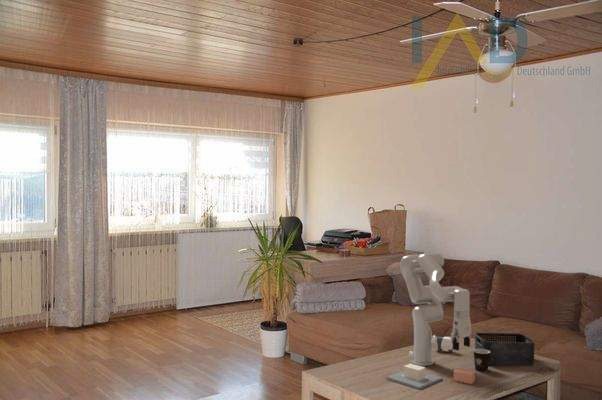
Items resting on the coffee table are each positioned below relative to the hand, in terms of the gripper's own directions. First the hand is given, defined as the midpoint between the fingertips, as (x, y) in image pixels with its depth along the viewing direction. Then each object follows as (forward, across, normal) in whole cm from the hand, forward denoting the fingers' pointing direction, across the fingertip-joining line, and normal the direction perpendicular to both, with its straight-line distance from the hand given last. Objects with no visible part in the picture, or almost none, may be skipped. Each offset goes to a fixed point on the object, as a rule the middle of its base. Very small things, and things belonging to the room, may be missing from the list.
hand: (461, 347), depth 288 cm
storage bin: (+17, +47, +3) cm, 50 cm away
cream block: (+15, -16, +17) cm, 28 cm away
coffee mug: (+17, +22, +1) cm, 28 cm away
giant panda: (+16, +35, +35) cm, 53 cm away
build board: (+16, -16, +17) cm, 29 cm away
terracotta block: (+17, +2, -1) cm, 17 cm away
